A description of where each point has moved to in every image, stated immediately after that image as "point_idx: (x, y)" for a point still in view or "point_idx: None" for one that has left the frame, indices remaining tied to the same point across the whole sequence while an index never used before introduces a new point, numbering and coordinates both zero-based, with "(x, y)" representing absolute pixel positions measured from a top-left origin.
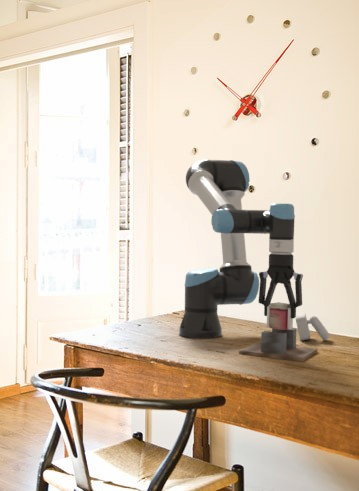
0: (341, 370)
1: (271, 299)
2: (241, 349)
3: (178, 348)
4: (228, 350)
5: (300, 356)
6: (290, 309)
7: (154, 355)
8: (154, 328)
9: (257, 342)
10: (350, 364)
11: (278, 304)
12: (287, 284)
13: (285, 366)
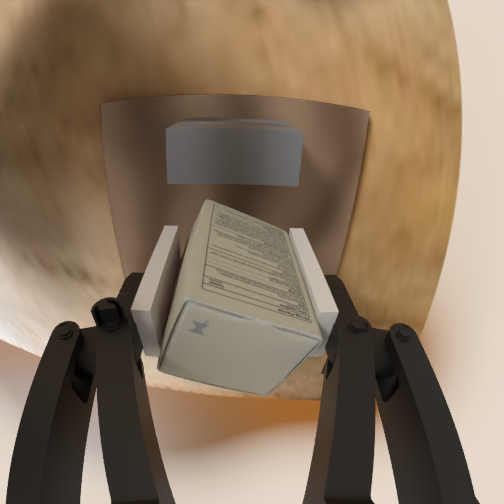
0: (413, 303)
1: (130, 356)
2: (122, 264)
3: (7, 286)
4: (80, 248)
5: (327, 264)
6: (321, 347)
7: (37, 349)
8: None
9: (104, 115)
10: (441, 242)
11: (239, 388)
12: None
13: None
